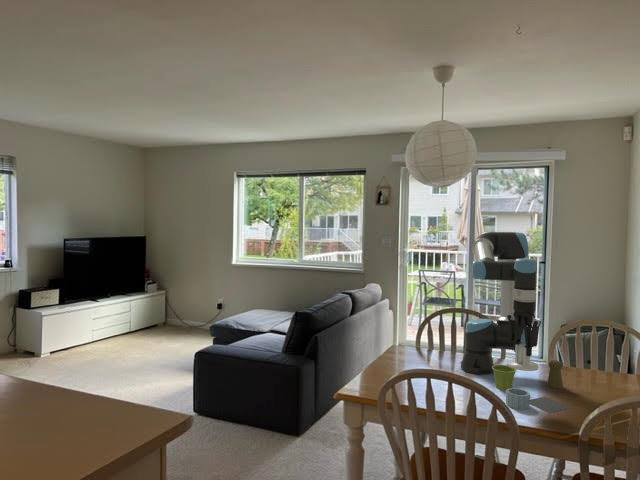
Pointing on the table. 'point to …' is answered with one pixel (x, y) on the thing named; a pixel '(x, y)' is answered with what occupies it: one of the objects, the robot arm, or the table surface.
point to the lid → (522, 362)
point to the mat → (548, 404)
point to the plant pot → (503, 376)
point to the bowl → (518, 398)
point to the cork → (555, 374)
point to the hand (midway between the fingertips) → (522, 362)
